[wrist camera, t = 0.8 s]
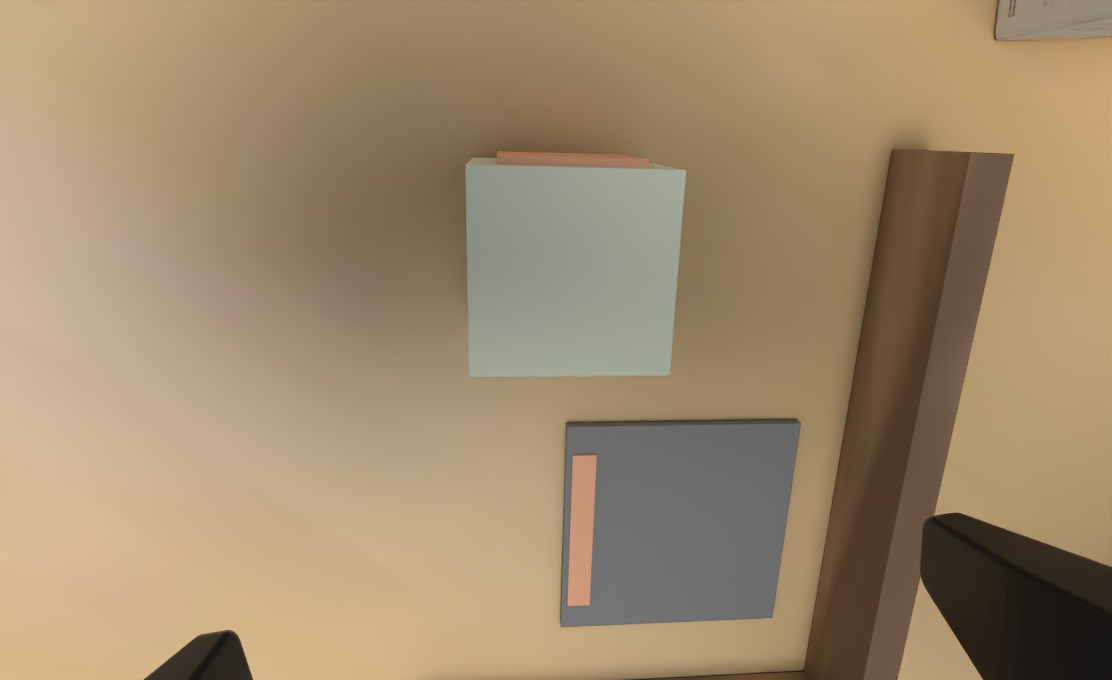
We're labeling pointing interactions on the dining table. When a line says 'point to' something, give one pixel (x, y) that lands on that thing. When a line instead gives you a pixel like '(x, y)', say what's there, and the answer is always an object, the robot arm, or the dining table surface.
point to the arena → (901, 407)
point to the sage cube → (571, 264)
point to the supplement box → (1053, 19)
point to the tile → (674, 520)
